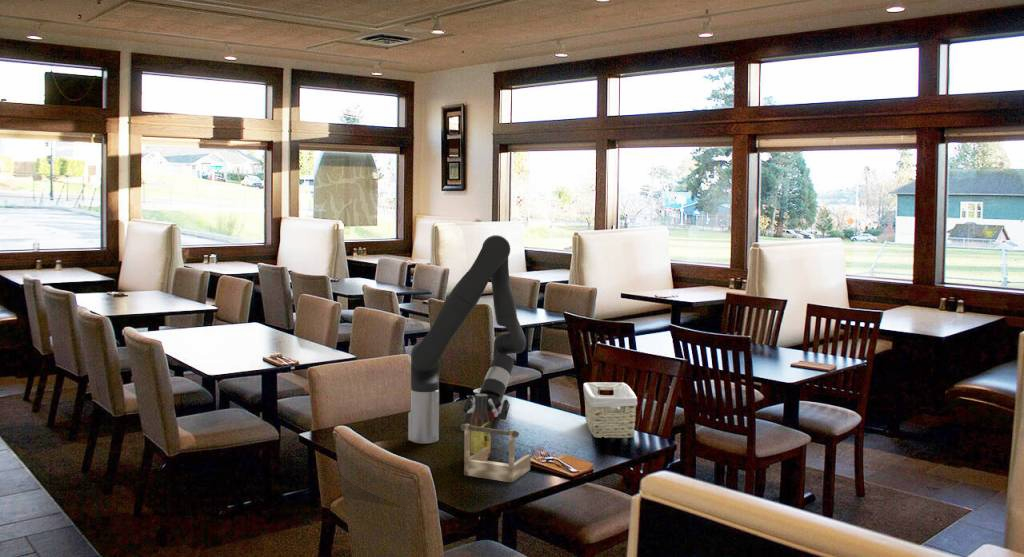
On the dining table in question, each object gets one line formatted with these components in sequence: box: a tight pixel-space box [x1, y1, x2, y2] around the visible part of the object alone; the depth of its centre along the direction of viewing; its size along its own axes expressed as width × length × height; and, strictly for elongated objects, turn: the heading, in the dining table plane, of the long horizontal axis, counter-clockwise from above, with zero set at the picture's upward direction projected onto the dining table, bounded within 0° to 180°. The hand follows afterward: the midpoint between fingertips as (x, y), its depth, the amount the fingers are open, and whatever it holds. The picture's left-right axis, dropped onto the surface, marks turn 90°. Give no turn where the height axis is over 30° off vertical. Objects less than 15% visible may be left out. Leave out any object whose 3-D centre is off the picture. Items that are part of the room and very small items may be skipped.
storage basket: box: [582, 381, 638, 439], centre depth 305 cm, size 24×16×15 cm
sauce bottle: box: [470, 393, 492, 459], centre depth 271 cm, size 7×6×20 cm
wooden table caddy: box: [460, 423, 531, 483], centre depth 256 cm, size 18×14×15 cm
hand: (479, 427), depth 270 cm, fingers open, 8 cm apart
